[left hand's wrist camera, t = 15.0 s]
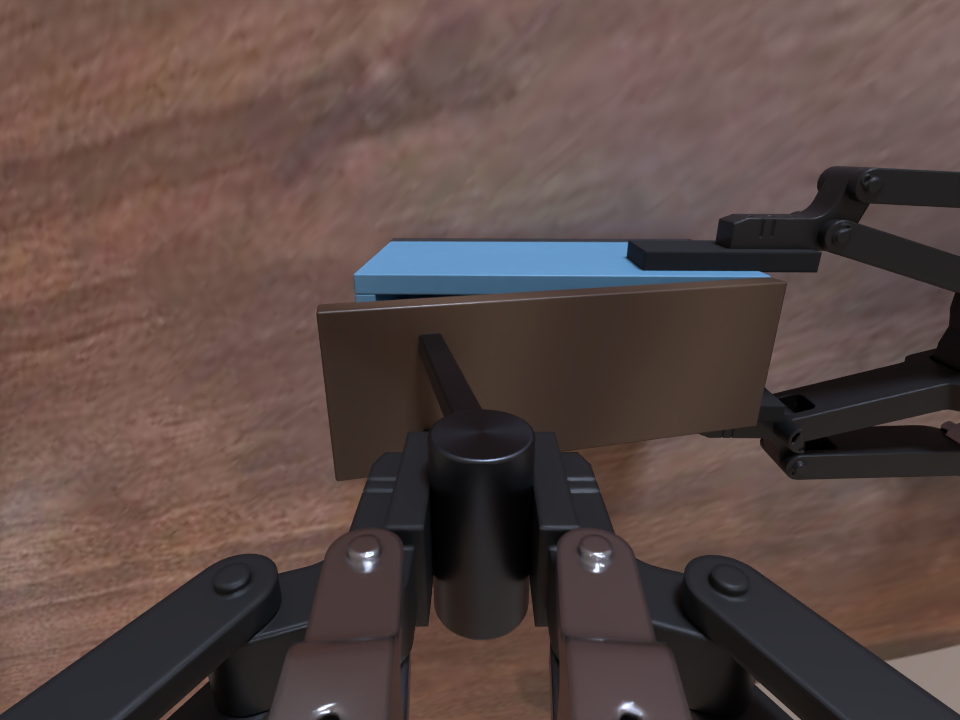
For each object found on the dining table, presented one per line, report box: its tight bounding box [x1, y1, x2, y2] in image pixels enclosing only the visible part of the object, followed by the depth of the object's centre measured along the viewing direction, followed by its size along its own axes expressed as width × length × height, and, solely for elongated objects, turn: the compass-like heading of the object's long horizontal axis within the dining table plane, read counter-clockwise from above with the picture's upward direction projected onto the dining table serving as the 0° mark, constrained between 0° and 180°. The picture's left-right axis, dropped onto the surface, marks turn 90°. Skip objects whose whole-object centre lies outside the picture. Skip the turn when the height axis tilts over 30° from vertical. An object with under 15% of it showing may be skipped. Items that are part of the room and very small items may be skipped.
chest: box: [353, 238, 771, 302], centre depth 24 cm, size 15×6×9 cm, turn 90°
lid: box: [317, 277, 787, 640], centre depth 15 cm, size 16×6×8 cm, turn 90°
